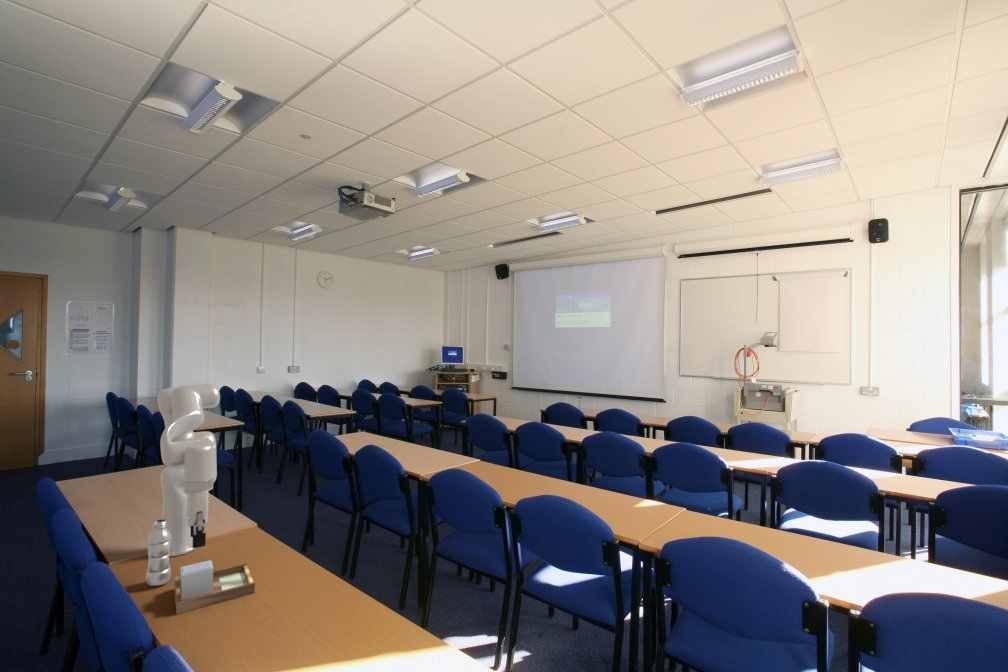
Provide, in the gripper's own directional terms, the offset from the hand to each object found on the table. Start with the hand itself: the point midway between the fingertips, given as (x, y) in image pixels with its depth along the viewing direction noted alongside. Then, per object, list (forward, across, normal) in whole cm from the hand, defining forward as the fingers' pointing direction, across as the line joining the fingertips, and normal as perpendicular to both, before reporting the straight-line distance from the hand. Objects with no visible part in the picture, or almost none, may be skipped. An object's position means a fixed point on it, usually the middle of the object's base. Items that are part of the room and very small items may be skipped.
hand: (197, 541), depth 144 cm
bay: (+17, -1, +5) cm, 18 cm away
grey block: (+16, -1, 0) cm, 16 cm away
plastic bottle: (+17, -16, -9) cm, 25 cm away
